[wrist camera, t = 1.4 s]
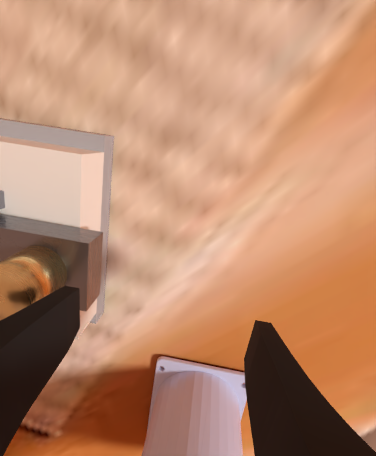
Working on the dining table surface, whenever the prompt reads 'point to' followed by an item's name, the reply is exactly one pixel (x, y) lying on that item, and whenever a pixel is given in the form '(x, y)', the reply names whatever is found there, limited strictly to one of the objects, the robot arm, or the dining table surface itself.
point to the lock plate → (58, 183)
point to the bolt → (46, 262)
